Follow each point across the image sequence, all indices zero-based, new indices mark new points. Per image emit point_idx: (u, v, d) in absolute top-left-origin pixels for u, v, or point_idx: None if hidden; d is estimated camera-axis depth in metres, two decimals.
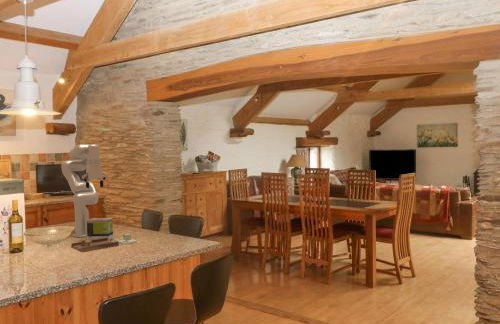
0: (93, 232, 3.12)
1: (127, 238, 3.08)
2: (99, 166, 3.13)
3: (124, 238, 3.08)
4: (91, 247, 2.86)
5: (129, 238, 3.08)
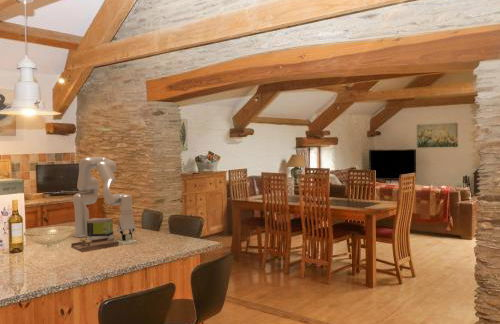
0: (93, 232, 3.12)
1: (127, 238, 3.07)
2: (131, 216, 3.09)
3: None
4: (91, 247, 2.86)
5: (129, 238, 3.08)
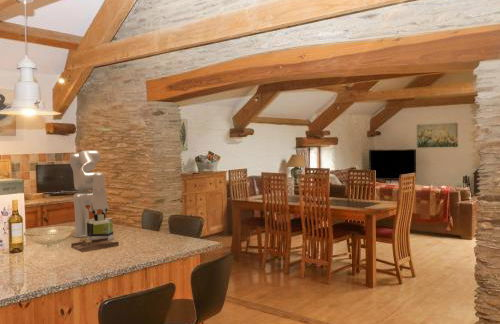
0: (93, 232, 3.12)
1: (99, 218, 2.96)
2: (104, 196, 2.98)
3: None
4: (91, 247, 2.86)
5: (102, 218, 2.97)
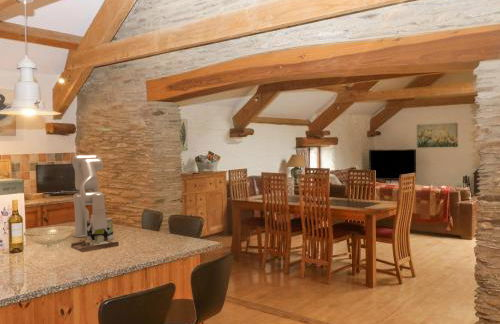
0: None
1: (99, 240, 2.97)
2: (104, 216, 2.98)
3: (96, 240, 2.97)
4: (91, 247, 2.86)
5: (101, 240, 2.98)
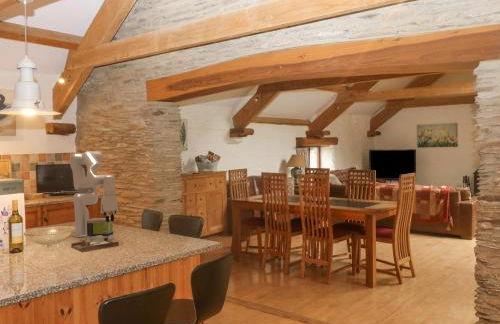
0: (93, 232, 3.12)
1: (99, 240, 2.97)
2: (114, 197, 3.03)
3: (96, 240, 2.97)
4: (91, 247, 2.86)
5: (101, 240, 2.98)
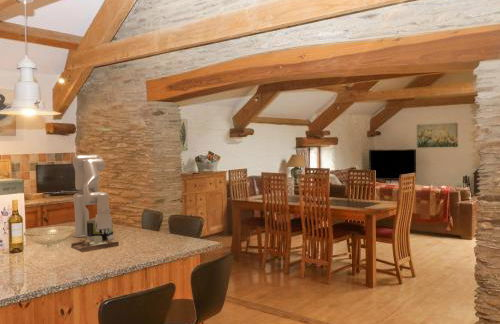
0: (93, 232, 3.12)
1: (98, 240, 2.96)
2: (109, 215, 3.00)
3: (95, 240, 2.96)
4: (91, 247, 2.86)
5: (100, 240, 2.97)
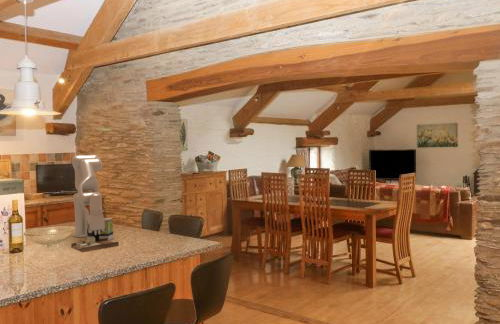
0: None
1: None
2: (101, 216, 2.97)
3: None
4: (91, 247, 2.86)
5: (93, 241, 2.93)
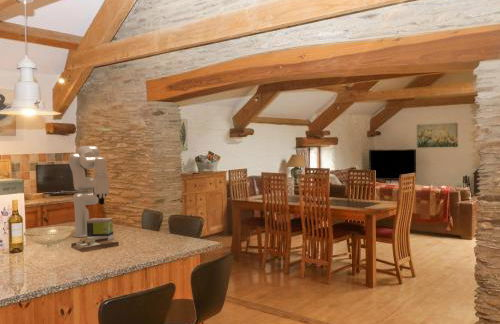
0: (93, 232, 3.12)
1: None
2: (106, 180, 2.98)
3: None
4: (91, 247, 2.86)
5: (93, 241, 2.94)
